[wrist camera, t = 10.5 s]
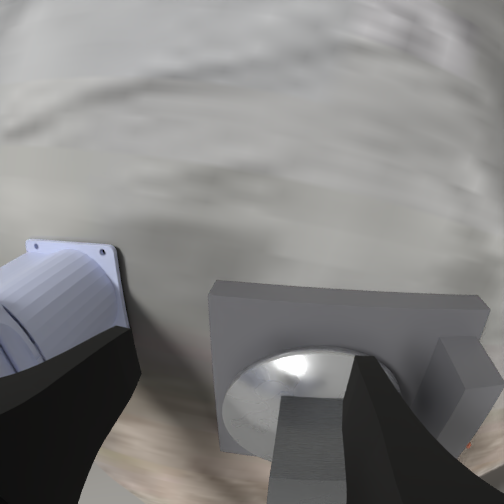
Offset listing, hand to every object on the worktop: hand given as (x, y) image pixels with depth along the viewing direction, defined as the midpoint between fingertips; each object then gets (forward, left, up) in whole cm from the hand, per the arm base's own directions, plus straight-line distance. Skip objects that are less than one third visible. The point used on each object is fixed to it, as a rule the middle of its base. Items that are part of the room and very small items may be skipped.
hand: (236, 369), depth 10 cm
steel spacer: (+4, -10, -6) cm, 12 cm away
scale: (+6, -10, -10) cm, 16 cm away
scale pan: (+4, -10, -7) cm, 13 cm away
